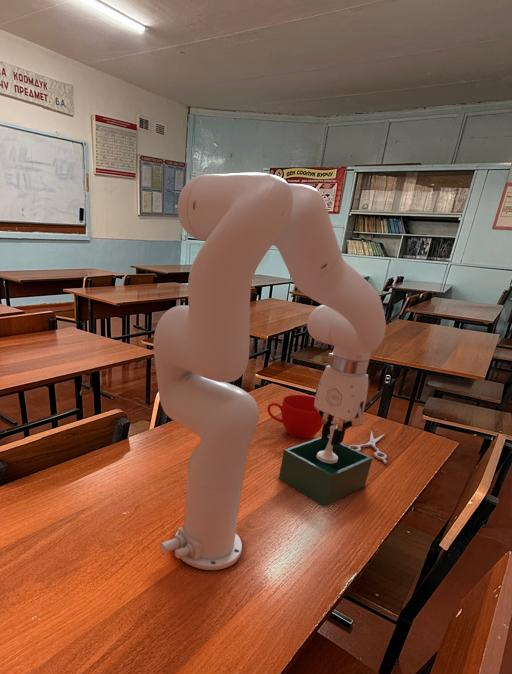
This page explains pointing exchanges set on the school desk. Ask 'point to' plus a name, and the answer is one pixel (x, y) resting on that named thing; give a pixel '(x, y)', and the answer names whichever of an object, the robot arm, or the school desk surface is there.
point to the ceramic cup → (299, 416)
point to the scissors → (372, 444)
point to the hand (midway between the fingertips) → (331, 441)
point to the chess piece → (329, 448)
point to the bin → (324, 470)
